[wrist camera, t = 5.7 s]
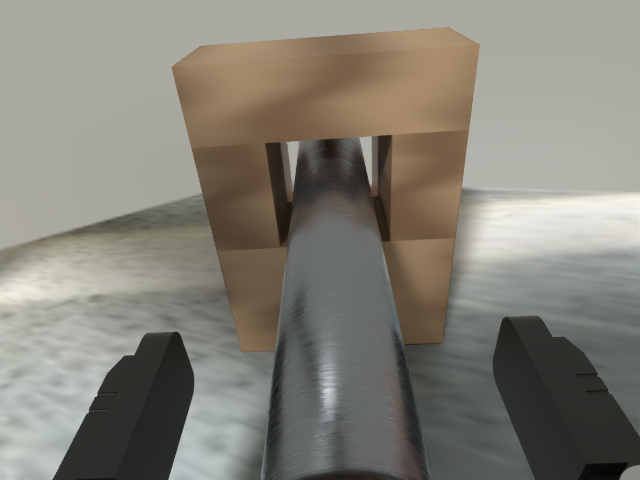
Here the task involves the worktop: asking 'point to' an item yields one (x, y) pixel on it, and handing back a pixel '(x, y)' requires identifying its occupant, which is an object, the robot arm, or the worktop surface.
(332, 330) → the shaft
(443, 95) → the bearing block
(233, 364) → the worktop surface
